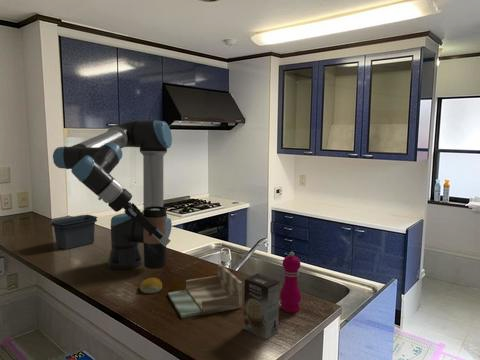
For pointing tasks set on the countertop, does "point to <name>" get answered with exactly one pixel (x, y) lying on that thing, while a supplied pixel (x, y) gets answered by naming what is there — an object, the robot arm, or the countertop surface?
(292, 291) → the pepper mill
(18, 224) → the countertop surface
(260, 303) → the coffee box
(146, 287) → the bread roll
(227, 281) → the stepped plastic tray
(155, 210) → the travel mug
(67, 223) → the storage bin
